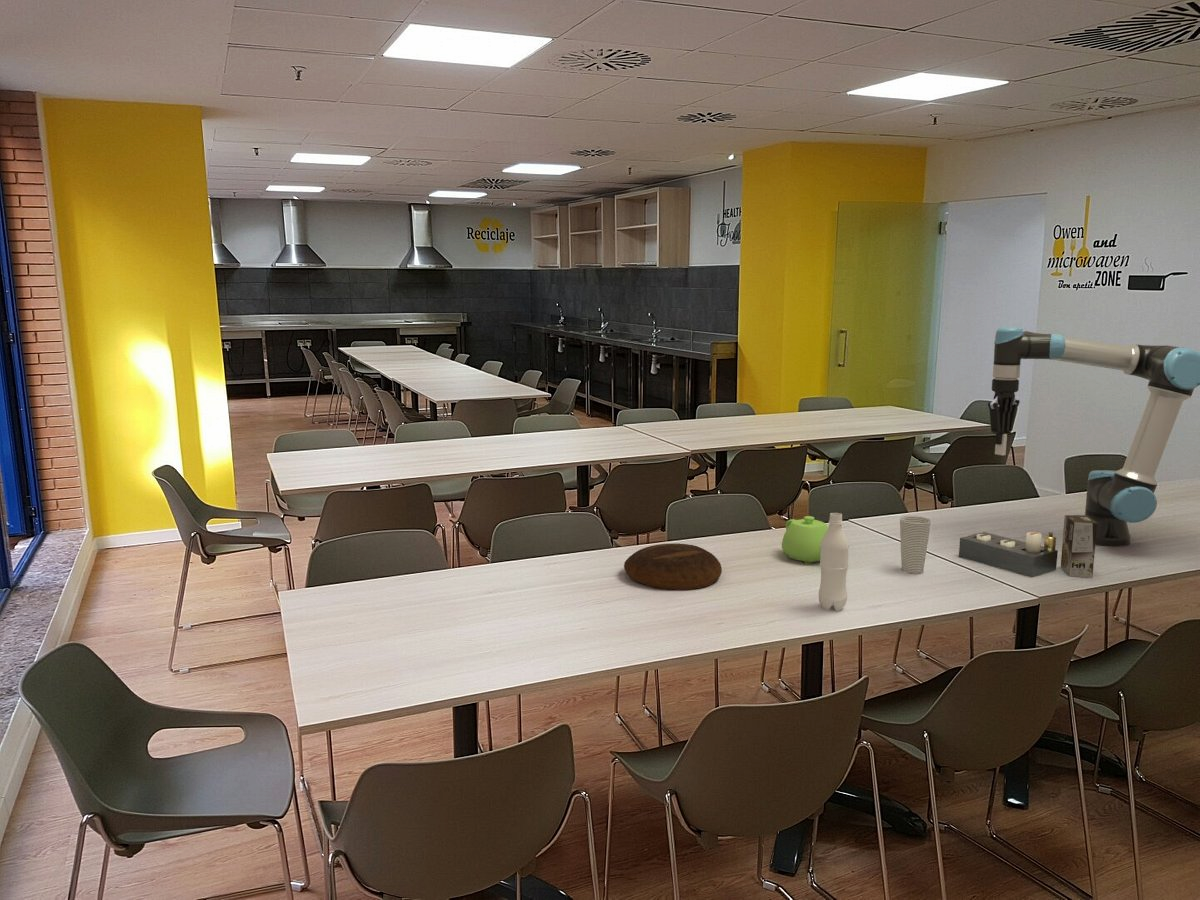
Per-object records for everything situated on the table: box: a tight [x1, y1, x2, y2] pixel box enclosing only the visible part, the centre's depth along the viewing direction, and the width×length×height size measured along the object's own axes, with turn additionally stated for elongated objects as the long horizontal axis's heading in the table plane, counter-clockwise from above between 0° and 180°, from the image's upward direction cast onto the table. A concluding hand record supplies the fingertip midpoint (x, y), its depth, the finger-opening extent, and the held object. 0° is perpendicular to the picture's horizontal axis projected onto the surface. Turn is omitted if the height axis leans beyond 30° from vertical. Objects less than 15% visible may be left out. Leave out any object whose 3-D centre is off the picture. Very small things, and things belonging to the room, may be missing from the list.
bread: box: [623, 542, 723, 590], centre depth 259 cm, size 28×27×9 cm
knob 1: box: [976, 533, 991, 541], centre depth 274 cm, size 4×4×7 cm
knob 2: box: [1000, 540, 1015, 547], centre depth 268 cm, size 4×4×7 cm
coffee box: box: [1060, 514, 1098, 578], centre depth 258 cm, size 9×6×16 cm
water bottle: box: [818, 512, 850, 611], centre depth 231 cm, size 7×7×25 cm
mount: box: [958, 531, 1059, 578], centre depth 268 cm, size 12×24×6 cm, turn 33°
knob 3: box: [1025, 531, 1043, 554], centre depth 260 cm, size 4×4×7 cm
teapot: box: [781, 515, 829, 565], centre depth 273 cm, size 22×15×13 cm
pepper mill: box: [1043, 531, 1057, 552], centre depth 260 cm, size 3×3×5 cm
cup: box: [899, 515, 932, 575], centre depth 260 cm, size 8×8×16 cm
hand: (1000, 454), depth 277 cm, fingers closed
